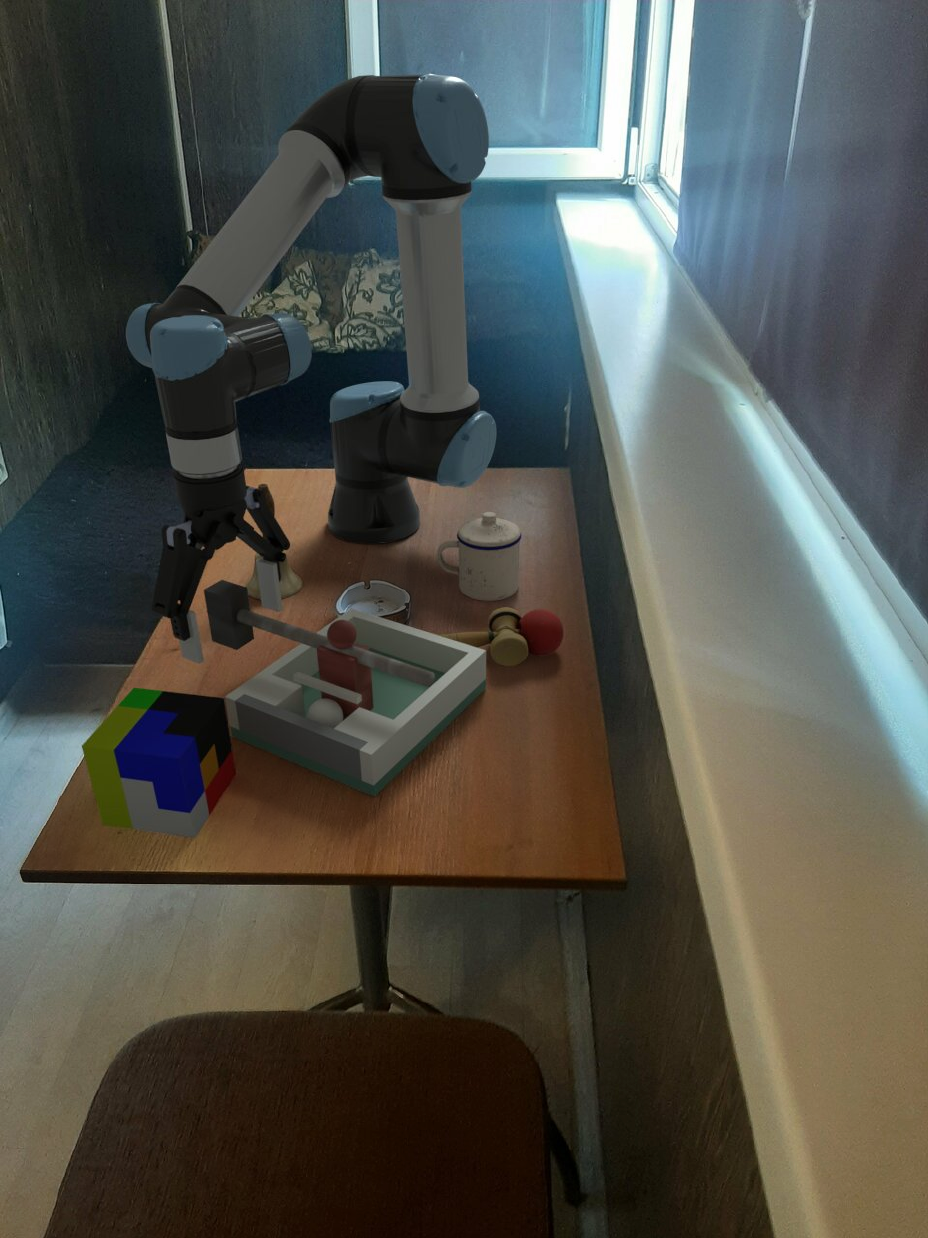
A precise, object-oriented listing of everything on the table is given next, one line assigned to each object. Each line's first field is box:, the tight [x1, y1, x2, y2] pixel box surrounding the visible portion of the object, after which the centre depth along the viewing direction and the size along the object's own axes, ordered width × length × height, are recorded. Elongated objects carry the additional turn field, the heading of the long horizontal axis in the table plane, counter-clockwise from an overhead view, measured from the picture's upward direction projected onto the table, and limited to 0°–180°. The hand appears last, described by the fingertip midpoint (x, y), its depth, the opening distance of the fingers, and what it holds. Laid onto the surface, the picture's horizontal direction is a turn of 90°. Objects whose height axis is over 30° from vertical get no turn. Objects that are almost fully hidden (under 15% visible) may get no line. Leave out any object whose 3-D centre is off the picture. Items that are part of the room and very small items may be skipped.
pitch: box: [224, 608, 487, 797], centre depth 109 cm, size 23×20×7 cm
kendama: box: [437, 606, 564, 667], centre depth 121 cm, size 8×6×18 cm
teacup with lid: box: [436, 511, 522, 602], centre depth 135 cm, size 12×9×12 cm
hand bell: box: [244, 483, 303, 600], centre depth 134 cm, size 8×8×16 cm
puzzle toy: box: [81, 687, 237, 839], centre depth 96 cm, size 10×10×10 cm
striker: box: [203, 579, 435, 717], centre depth 107 cm, size 3×30×11 cm, turn 59°
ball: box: [307, 698, 343, 729], centre depth 104 cm, size 4×4×4 cm
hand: (234, 632), depth 114 cm, fingers open, 13 cm apart
